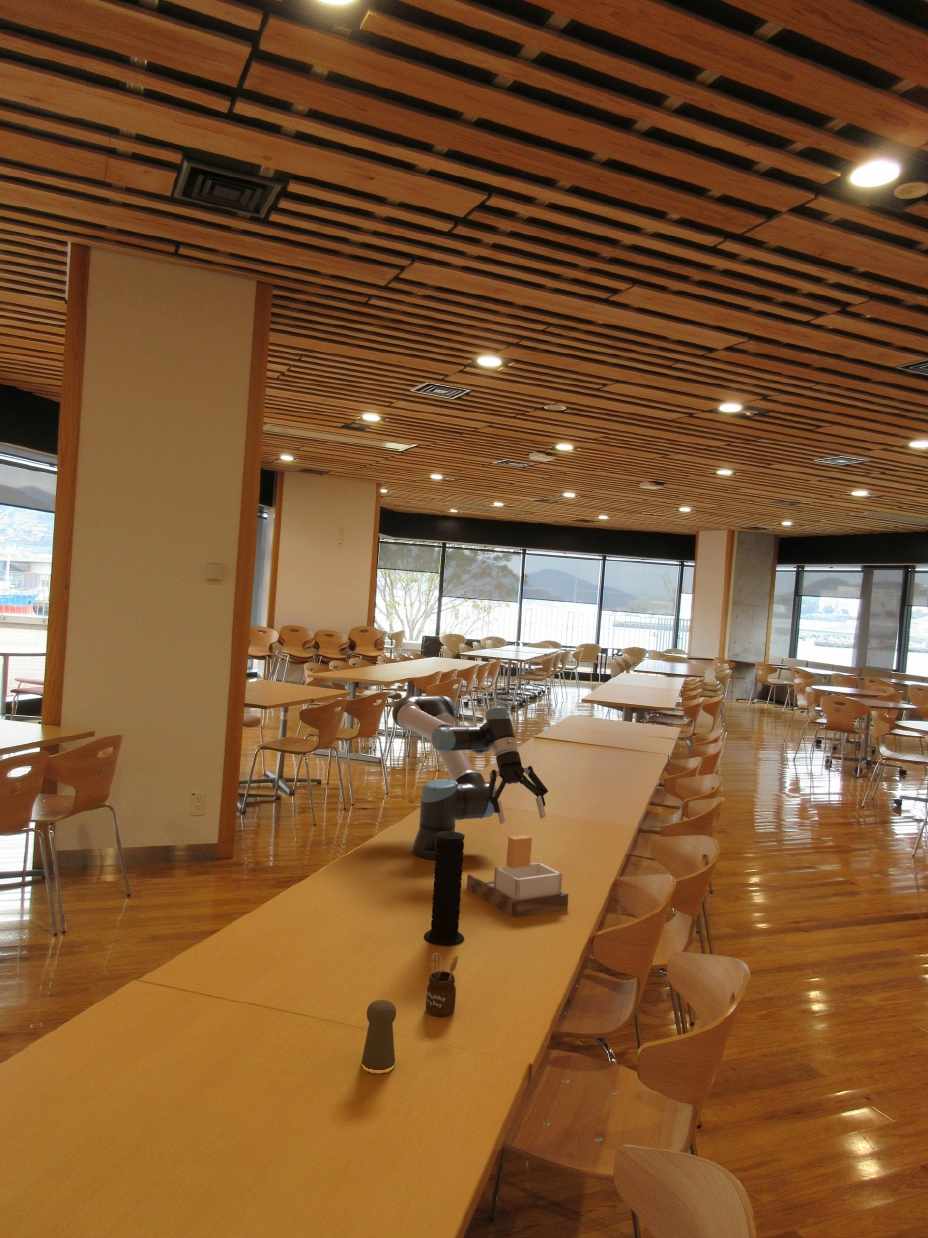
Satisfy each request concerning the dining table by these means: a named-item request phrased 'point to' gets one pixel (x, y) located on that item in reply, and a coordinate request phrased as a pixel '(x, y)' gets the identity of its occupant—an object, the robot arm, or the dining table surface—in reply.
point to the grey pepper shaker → (379, 1036)
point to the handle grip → (447, 890)
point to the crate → (525, 873)
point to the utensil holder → (441, 991)
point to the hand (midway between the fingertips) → (523, 820)
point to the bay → (516, 907)
